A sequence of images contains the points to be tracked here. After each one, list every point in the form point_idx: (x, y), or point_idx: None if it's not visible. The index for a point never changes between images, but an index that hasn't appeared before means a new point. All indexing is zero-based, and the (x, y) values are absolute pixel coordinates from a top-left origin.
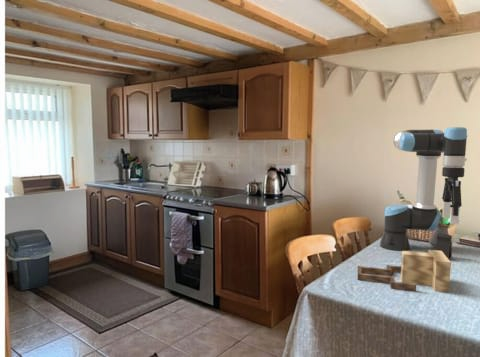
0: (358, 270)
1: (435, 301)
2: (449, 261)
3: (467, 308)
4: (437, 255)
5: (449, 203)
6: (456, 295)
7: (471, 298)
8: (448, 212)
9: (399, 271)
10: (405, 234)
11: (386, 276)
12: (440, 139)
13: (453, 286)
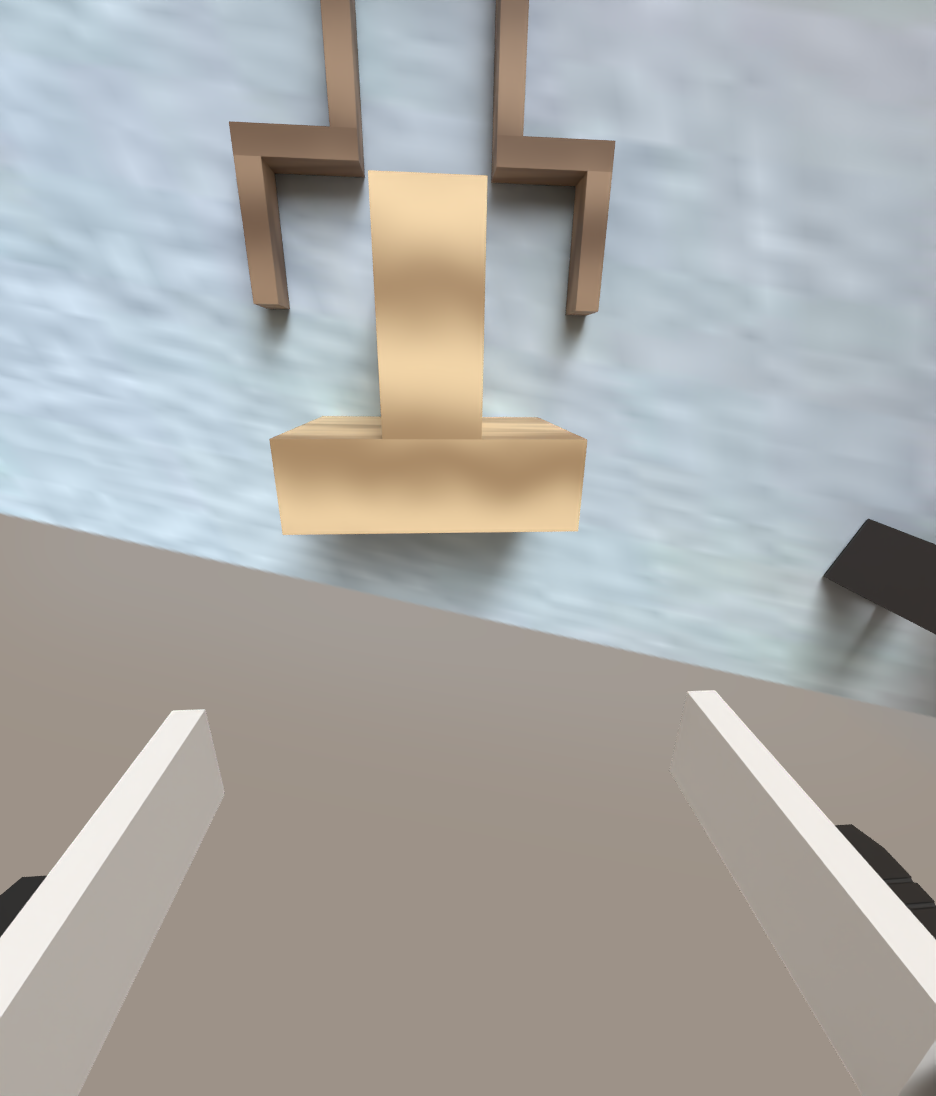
0: None
1: (169, 390)
2: (303, 529)
3: (158, 519)
4: (434, 477)
5: (865, 1065)
6: None
7: (297, 563)
8: (722, 828)
9: (573, 251)
10: None
11: (345, 98)
12: None
13: None
